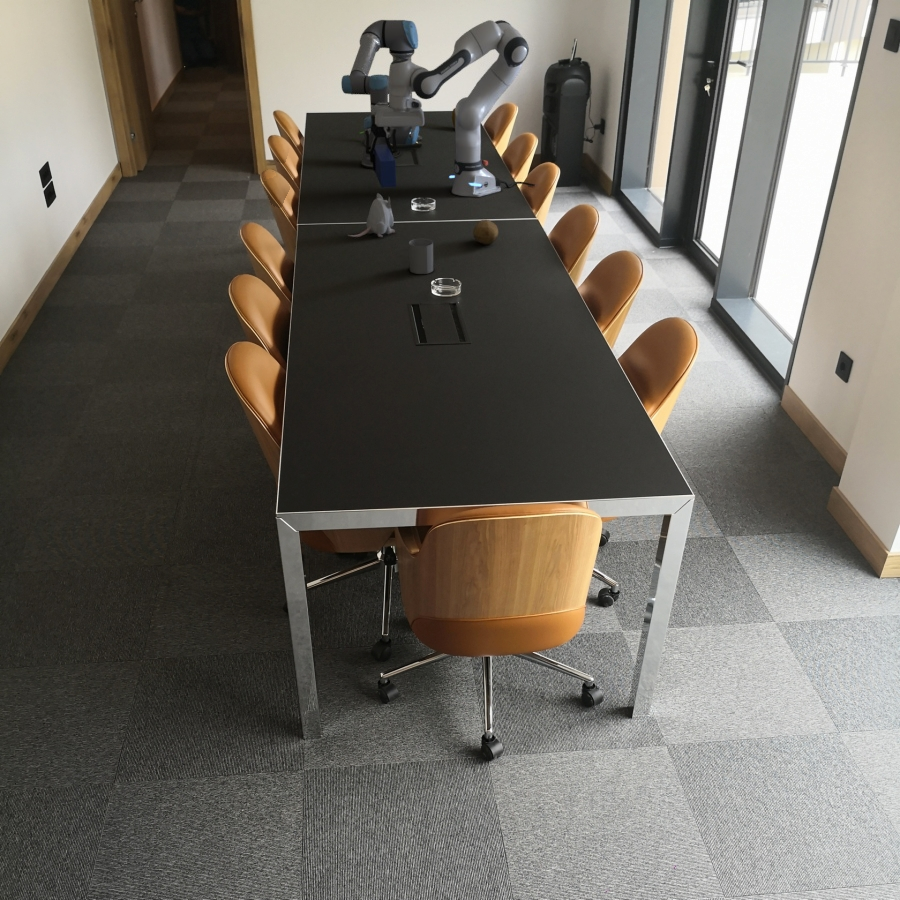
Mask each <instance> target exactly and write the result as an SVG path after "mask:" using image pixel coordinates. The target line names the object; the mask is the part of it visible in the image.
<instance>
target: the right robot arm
mask: <svg viewBox="0 0 900 900" xmlns="http://www.w3.org/2000/svg"><path fill="white" fill-rule="evenodd" d="M494 50H495V51H496V53H498V57H497V59H496V60H495V61H494V62H493V63H492V64H491V65H490V67H489V68H488V69H487V70H486V71H485V73H484V74H483V75H482V76H481V77H480V78H479V80H478V81H477V82H476V84H475V86H474V87H473V88H472V90H471V91H470V93H469V94H468V95H467V96H466V97H465V96H464V97H462V98H461V99H459V100H458V102H457V103H456V104H455V107H454V108H455V128H454V129H455V130H454V132H455V133H454V134H455V136H454V137H455V146H454V147H455V156H454V157H455V158H454V165H453V166H454V167H453V170H454V175H449V179H453V184H452V189H451V193H452V194H453V195H457V196H461V197H472V198H473V197H475V198H480V197H484V196H487V195H491V194H495V193H498V192H501V191H502V188H501V184H504V185H505V186H506V187H507V188H508V189H509V188H512V187H514V185H526V186H531V187H535V186H536V184H535V183H530V182H524V181H514V182H512V183H511V184H510V185H509V184H508V182H507V181H505V180H501V179H499V178H498V177H495V175H494V174H493V173H491V172H490V171H489V170H488V169H486V168H485V167H484V166H488V165H489V161H488V160H485V159H481V153H482V152H481V151H482V150H481V148H482V147H481V146H482V144H481V143H482V139H481V138H482V137H481V124H482V123H483V121H484V120H485V118H486V117H487V116H488V114H489V113H490V111H492V108H493V107H494V105H495V104H496V103H497V101H498V100H499V99H500V98H501V97H502V96H503V94H504V93H505V92H506V91H507V89H508V88H509V87H510V86H511V85H512V84H513V82H514V81H515V80H516V78H517V76H518V75H519V73H520V71H521V69H522V67H523V63H524V61H525V60H526V59H527V57H528V55H529V51H530V48H529V44H528V42H527V40H526V39H525V38H524V37H523V35H522V34H521V33H520V32H519V30H517V29H516V28H515V27H514V26H512V25H511V23H509V22H508V21H506V20H504V19H503V20H502V19H499V20H495V21H494V20H492V19H491V20H489V19H488V20H486V21H482V22H481V23H479V24H477V25H475V26H474V27H472V28H470V29H469V30H467V31H465V32H464V33H463V34H462V35H461V36H460V37H459V38H457V40H455V43H454V46H453V52H452V54H451V55H450V56H449V58H446V60H445V61H444V62H442V63H441V64H439V65H438V66H436V67H435V68H434V69H431V70H429V69H427V68H425V67H423V66H420V65H418V64H415V62H412V60H411V61H410V60H409V59H407V58H401V59H396V60H394V61H393V60H392V61H391V63H390V65H389V70H388V75H389V85H390V91H389V94H388V102H378V103H377V104H378V105H377V104H375V106H374V111H375V113H376V115H375V124H376V125H377V126H378V127H384V130H385V132H386V137H387V138H390V133H388V132H387V130H386V129H388V127H396V126H412V131H411V132H409V138H413V133H414V131H415V129H416V126H419V127H423V126H424V125H425V114H424V113H425V112H424V110H423V108H422V106H423V104H422V102H421V100H419V99H418V98H420V99H422V100H430V99H432V98H434V97H435V96H436V95H437V94H438V92H439V91H440V89H441V88H442V86H443V85H444V84H445V83H447V82H448V81H449V80H451V79H452V78H453V77H454V76H456V75H457V74H459V73H460V72H461V71H463V69H465V68H466V67H468V66H470V65H471V64H473V63H475V62H476V61H478V60H480V59H482V57H484V56H485V55H487V54H488V53H489V52H491V51H494ZM411 92H412V93H415V94H416V96H417V97H418V98H414V97H412V98H411Z"/></svg>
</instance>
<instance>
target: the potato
mask: <svg viewBox="0 0 900 900" xmlns="http://www.w3.org/2000/svg"><path fill="white" fill-rule="evenodd" d="M472 232H473V233H472V234H473V238H474V239H475V241H477V242H478V243H479V244H482V245H490V244H491V243H493V242H495V241H496V240H497V238H498V235H499V228H498V226H497V225H496V224H495V223H494V222H492V221H491V220H490V219H481V220H480V221H478V222H477V223H476V224H475V225H474V228H473V231H472Z"/></svg>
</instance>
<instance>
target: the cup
mask: <svg viewBox="0 0 900 900" xmlns="http://www.w3.org/2000/svg"><path fill="white" fill-rule="evenodd" d="M408 253H409V272H411V273H412V274H416V275H426V274H430V273H432V272H434V241H433V240H431V239H428V238H422V237H421V238H420V237H419V238H414V239H411V240H410V241H409V242H408Z"/></svg>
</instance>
